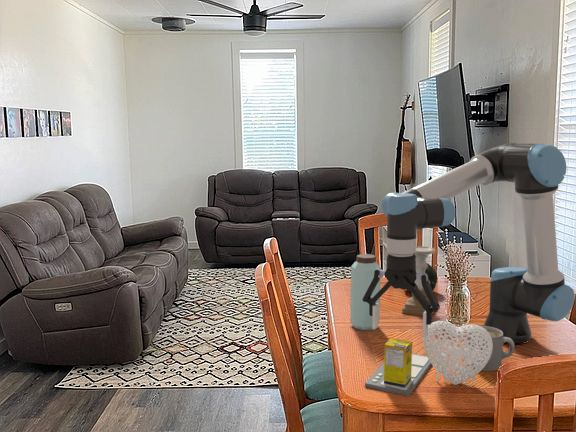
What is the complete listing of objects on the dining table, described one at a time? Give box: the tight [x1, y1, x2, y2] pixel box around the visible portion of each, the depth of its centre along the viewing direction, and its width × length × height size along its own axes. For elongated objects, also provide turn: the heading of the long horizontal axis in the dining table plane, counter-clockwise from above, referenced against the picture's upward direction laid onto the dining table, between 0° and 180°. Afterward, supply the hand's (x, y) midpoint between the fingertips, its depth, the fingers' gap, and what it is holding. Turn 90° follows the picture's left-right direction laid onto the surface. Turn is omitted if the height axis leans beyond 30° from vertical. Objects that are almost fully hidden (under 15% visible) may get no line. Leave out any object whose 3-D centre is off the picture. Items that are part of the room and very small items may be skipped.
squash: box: [406, 262, 438, 291], centre depth 245 cm, size 14×15×15 cm
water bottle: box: [349, 253, 382, 331], centre depth 202 cm, size 10×10×25 cm
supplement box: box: [383, 337, 413, 387], centre depth 156 cm, size 6×6×11 cm
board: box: [364, 353, 432, 397], centre depth 165 cm, size 12×26×1 cm, turn 152°
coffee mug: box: [466, 325, 515, 372], centre depth 171 cm, size 13×10×10 cm
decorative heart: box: [422, 320, 493, 386], centre depth 157 cm, size 18×11×17 cm, turn 69°
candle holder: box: [401, 245, 436, 317], centre depth 219 cm, size 11×11×24 cm
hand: (399, 331), depth 155 cm, fingers open, 13 cm apart
